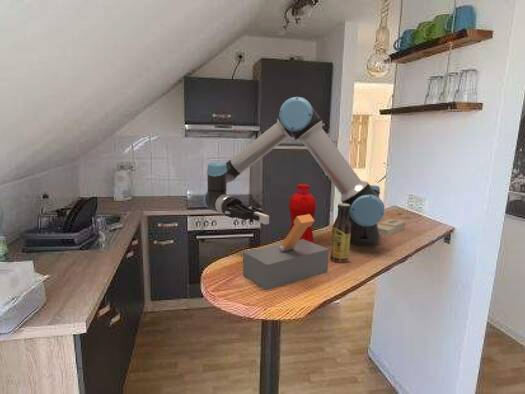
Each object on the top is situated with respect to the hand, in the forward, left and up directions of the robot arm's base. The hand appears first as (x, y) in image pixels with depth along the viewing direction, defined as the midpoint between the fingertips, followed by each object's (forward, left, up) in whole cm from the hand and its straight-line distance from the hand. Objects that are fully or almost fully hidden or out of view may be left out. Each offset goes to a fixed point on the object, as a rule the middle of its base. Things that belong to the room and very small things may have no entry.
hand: (267, 220), depth 113 cm
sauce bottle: (-23, +11, -15) cm, 30 cm away
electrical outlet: (-70, -2, -15) cm, 72 cm away
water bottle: (-17, -3, -15) cm, 23 cm away
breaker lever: (0, +10, -6) cm, 12 cm away
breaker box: (0, +10, -15) cm, 18 cm away
